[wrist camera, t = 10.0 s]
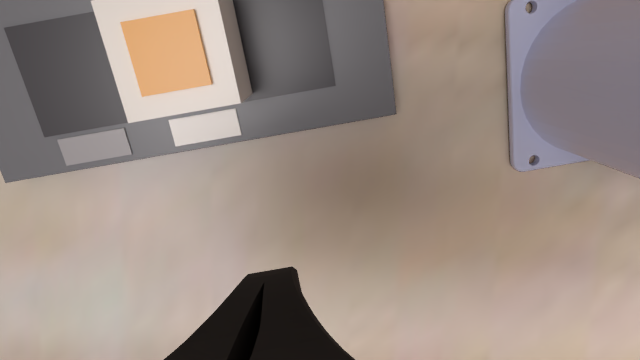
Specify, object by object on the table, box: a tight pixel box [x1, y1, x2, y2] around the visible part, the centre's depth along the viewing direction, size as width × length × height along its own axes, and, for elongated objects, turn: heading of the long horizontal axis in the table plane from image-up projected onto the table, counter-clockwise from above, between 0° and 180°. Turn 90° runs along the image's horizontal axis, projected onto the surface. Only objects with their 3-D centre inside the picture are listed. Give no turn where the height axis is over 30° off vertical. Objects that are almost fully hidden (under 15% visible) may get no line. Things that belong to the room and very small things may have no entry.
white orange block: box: [91, 0, 253, 123], centre depth 15 cm, size 4×4×4 cm
